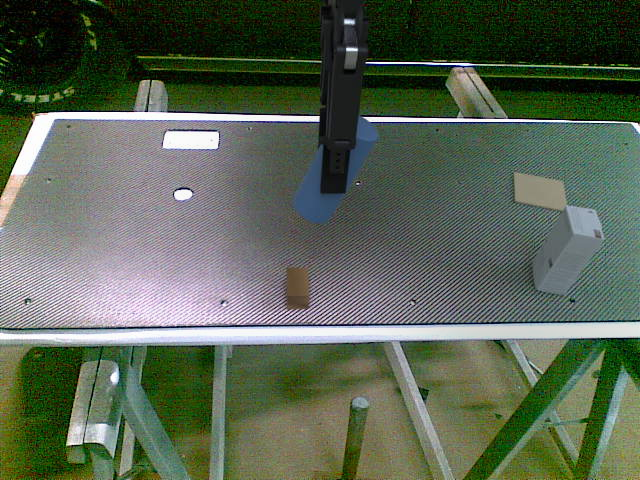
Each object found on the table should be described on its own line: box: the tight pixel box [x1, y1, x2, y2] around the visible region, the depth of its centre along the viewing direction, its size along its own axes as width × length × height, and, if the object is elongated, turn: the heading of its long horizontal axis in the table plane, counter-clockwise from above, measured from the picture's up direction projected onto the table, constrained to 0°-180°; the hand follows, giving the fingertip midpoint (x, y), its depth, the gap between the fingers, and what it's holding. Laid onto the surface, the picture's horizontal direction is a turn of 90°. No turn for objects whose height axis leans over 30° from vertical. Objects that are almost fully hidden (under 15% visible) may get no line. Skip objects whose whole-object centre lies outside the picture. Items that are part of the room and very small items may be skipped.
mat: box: [512, 171, 568, 213], centre depth 86 cm, size 9×9×1 cm
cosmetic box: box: [531, 205, 605, 296], centre depth 67 cm, size 6×4×12 cm
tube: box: [292, 114, 380, 224], centre depth 52 cm, size 12×5×5 cm
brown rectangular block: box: [286, 267, 310, 310], centre depth 66 cm, size 3×5×3 cm, turn 3°
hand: (330, 175), depth 53 cm, fingers closed on tube, 5 cm apart
